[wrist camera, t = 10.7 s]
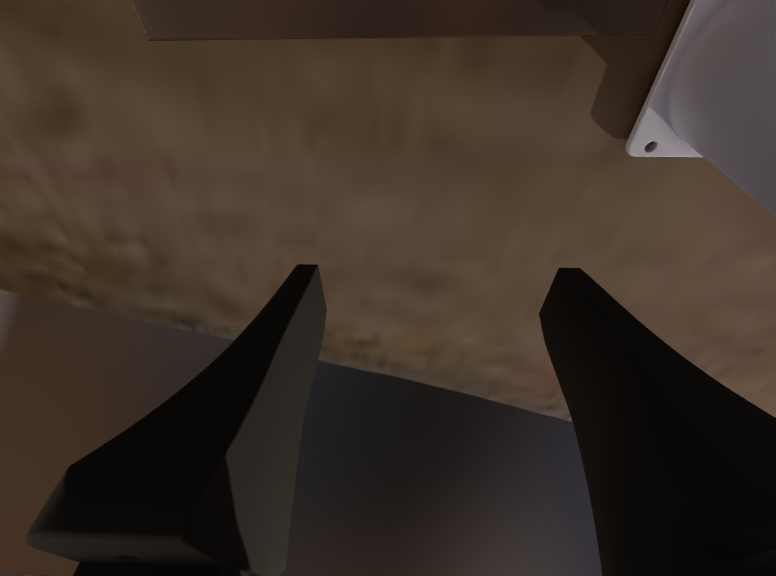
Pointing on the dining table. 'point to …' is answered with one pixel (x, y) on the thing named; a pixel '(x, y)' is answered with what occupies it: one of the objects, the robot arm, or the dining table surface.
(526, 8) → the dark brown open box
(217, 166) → the dining table surface
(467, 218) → the dining table surface
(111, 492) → the robot arm
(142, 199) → the dining table surface
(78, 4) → the dining table surface
